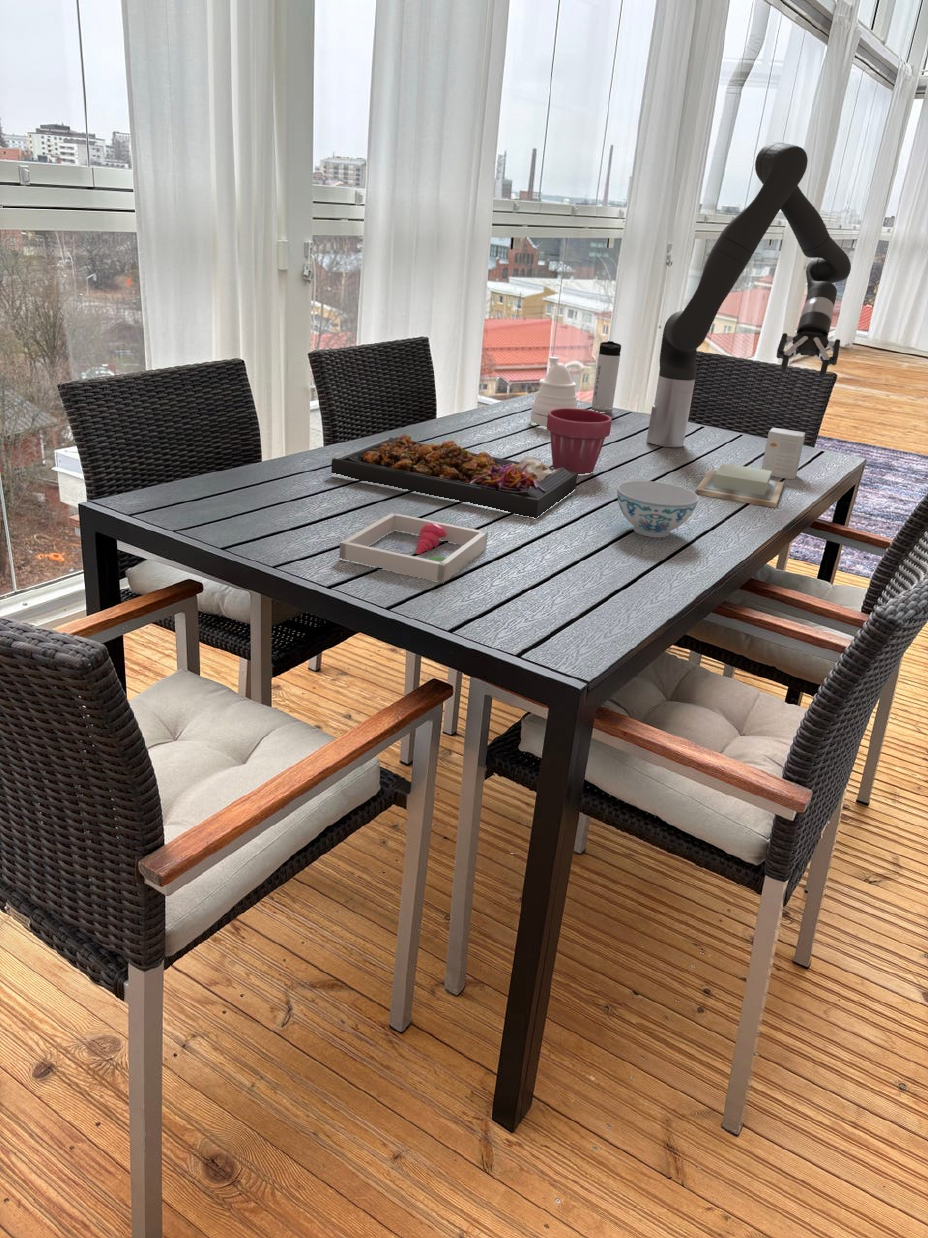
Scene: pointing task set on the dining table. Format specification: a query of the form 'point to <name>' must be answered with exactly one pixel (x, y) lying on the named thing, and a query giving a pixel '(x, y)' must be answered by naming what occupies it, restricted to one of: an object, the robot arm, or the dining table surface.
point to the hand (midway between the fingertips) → (802, 373)
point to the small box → (783, 452)
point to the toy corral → (411, 565)
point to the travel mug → (606, 376)
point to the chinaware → (655, 506)
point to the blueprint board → (764, 500)
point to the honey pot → (554, 393)
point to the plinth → (742, 479)
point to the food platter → (459, 474)
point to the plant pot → (577, 438)
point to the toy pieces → (429, 540)
